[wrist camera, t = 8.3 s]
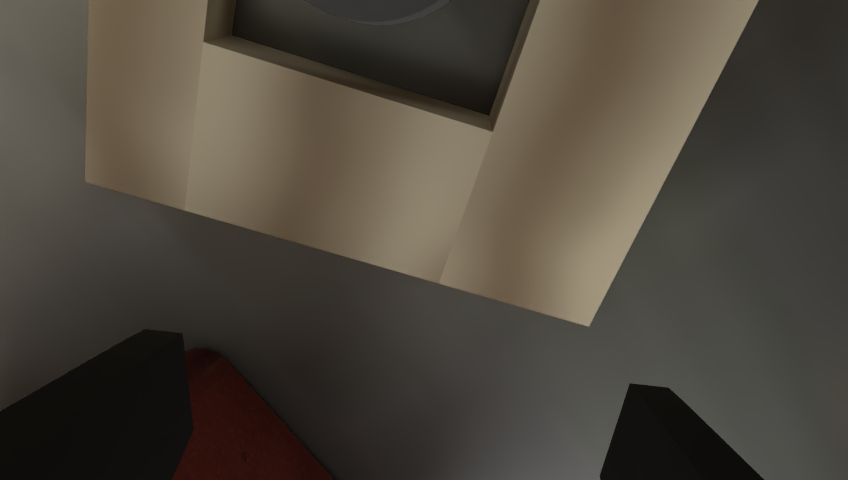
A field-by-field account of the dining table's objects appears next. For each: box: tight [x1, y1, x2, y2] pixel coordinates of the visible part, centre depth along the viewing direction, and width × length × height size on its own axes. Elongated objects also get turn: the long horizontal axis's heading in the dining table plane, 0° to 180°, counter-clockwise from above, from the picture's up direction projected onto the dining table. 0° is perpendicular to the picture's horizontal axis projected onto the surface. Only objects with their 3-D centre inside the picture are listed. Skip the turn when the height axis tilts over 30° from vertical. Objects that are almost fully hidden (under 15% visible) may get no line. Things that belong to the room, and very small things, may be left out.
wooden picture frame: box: [85, 0, 759, 327], centre depth 15 cm, size 16×14×2 cm
